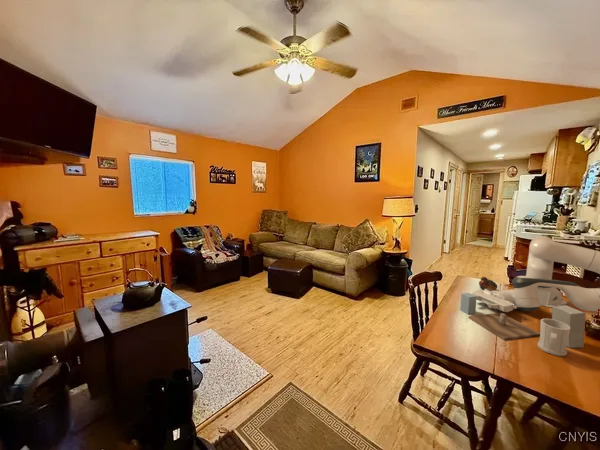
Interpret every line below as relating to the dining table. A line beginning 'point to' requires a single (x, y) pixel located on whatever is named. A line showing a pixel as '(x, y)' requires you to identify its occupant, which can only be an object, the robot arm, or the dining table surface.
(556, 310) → the skincare box
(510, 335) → the walnut base
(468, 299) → the tall grey rectangular prism
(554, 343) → the cup
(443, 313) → the dining table surface
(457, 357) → the dining table surface
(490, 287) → the decorative turtle
